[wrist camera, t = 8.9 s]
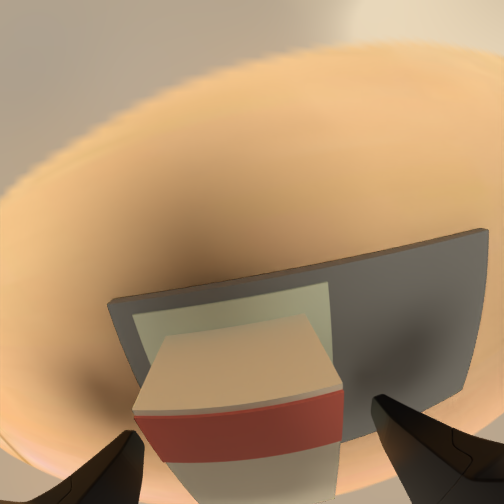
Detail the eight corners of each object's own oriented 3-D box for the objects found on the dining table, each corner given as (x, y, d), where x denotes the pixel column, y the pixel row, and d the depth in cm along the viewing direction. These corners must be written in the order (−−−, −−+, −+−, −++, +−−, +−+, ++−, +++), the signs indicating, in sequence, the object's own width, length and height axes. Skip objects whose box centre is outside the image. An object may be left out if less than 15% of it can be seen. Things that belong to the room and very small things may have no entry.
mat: (480, 227, 10) (490, 229, 9) (457, 385, 12) (462, 390, 11) (113, 298, 10) (105, 305, 9) (185, 457, 12) (184, 465, 11)
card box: (314, 435, 11) (334, 500, 7) (213, 450, 11) (209, 517, 7) (304, 313, 9) (344, 385, 5) (165, 335, 9) (130, 412, 5)
